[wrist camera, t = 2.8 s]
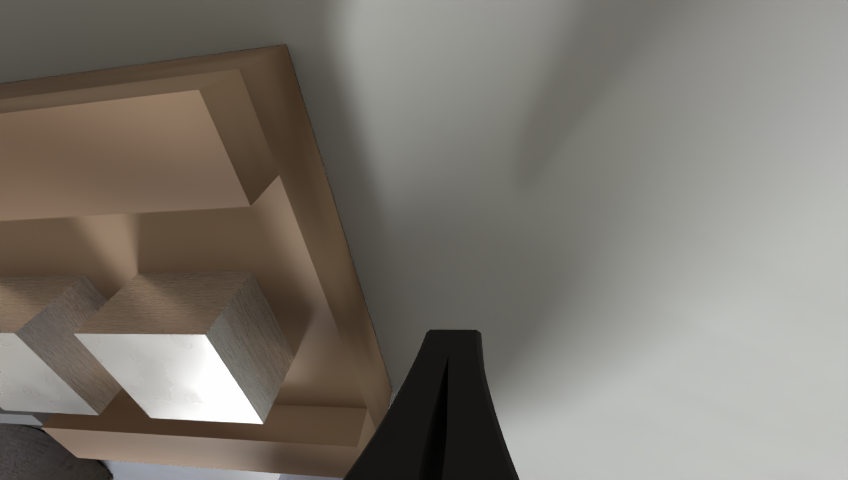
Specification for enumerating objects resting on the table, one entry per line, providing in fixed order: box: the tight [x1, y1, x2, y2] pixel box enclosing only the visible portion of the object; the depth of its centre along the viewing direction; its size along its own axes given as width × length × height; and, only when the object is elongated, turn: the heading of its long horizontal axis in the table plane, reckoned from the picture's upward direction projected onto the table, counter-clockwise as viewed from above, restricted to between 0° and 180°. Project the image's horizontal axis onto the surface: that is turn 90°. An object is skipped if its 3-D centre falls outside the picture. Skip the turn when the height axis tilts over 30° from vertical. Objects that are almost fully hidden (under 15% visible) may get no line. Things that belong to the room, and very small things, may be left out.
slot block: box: [0, 44, 392, 478], centre depth 15 cm, size 15×14×4 cm
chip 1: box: [0, 274, 122, 415], centre depth 14 cm, size 4×4×2 cm
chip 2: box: [74, 270, 295, 424], centre depth 13 cm, size 4×4×2 cm
